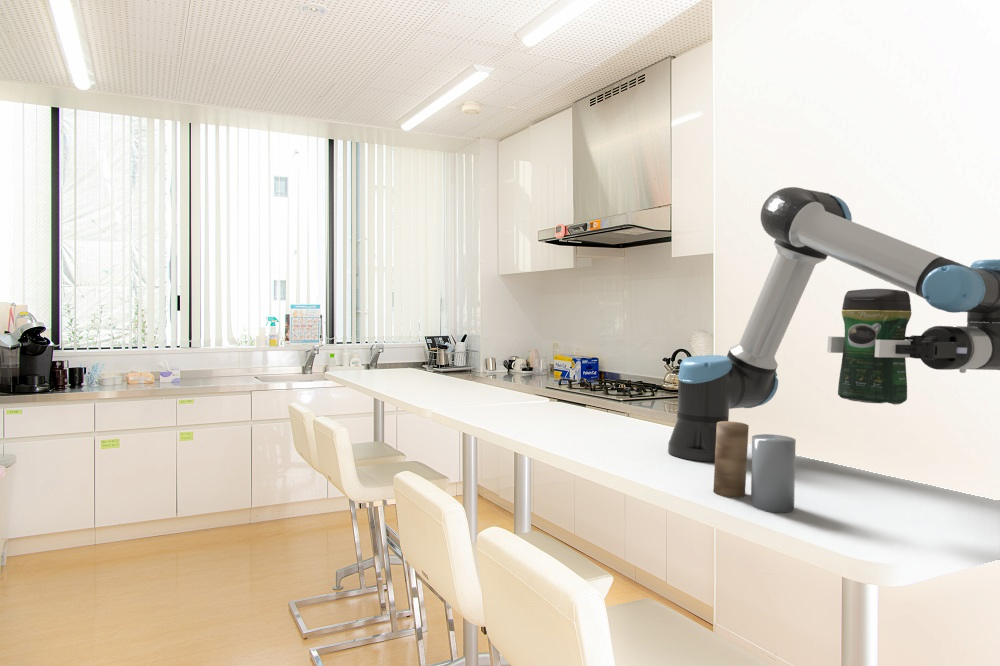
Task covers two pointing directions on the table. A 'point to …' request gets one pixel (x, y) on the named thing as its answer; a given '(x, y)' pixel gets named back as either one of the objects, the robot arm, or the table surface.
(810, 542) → the table surface
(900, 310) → the coffee jar
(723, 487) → the walnut spice mill
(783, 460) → the slate canister
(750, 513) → the table surface
